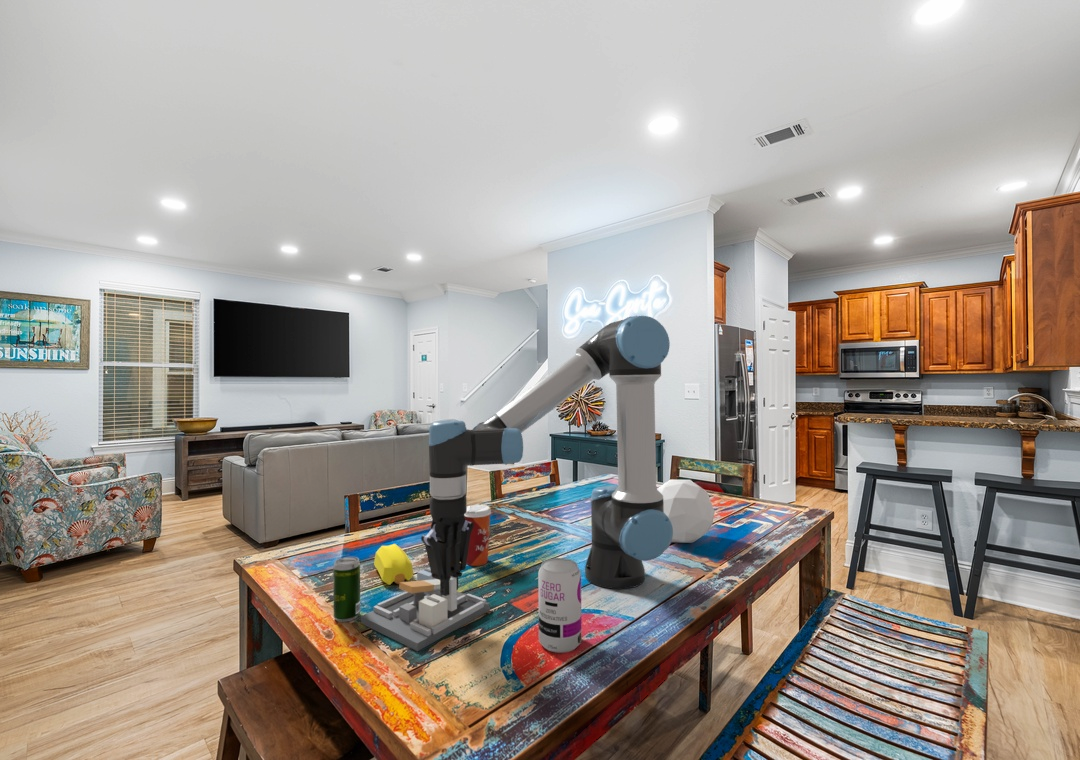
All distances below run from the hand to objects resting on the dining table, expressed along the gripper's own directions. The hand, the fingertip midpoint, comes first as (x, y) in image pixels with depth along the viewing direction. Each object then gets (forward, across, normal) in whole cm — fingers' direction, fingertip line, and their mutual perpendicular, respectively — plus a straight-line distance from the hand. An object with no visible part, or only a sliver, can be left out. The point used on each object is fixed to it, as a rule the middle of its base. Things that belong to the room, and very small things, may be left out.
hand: (449, 608), depth 101 cm
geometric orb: (+4, -78, +21) cm, 81 cm away
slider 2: (+1, +4, 0) cm, 4 cm away
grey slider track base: (+3, +1, -6) cm, 7 cm away
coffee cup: (+3, -28, -19) cm, 34 cm away
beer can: (+3, +11, -20) cm, 23 cm away
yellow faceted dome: (+4, -10, -31) cm, 33 cm away
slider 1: (+1, -5, -12) cm, 13 cm away
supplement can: (+4, -7, +23) cm, 24 cm away
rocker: (-3, +1, -6) cm, 7 cm away
